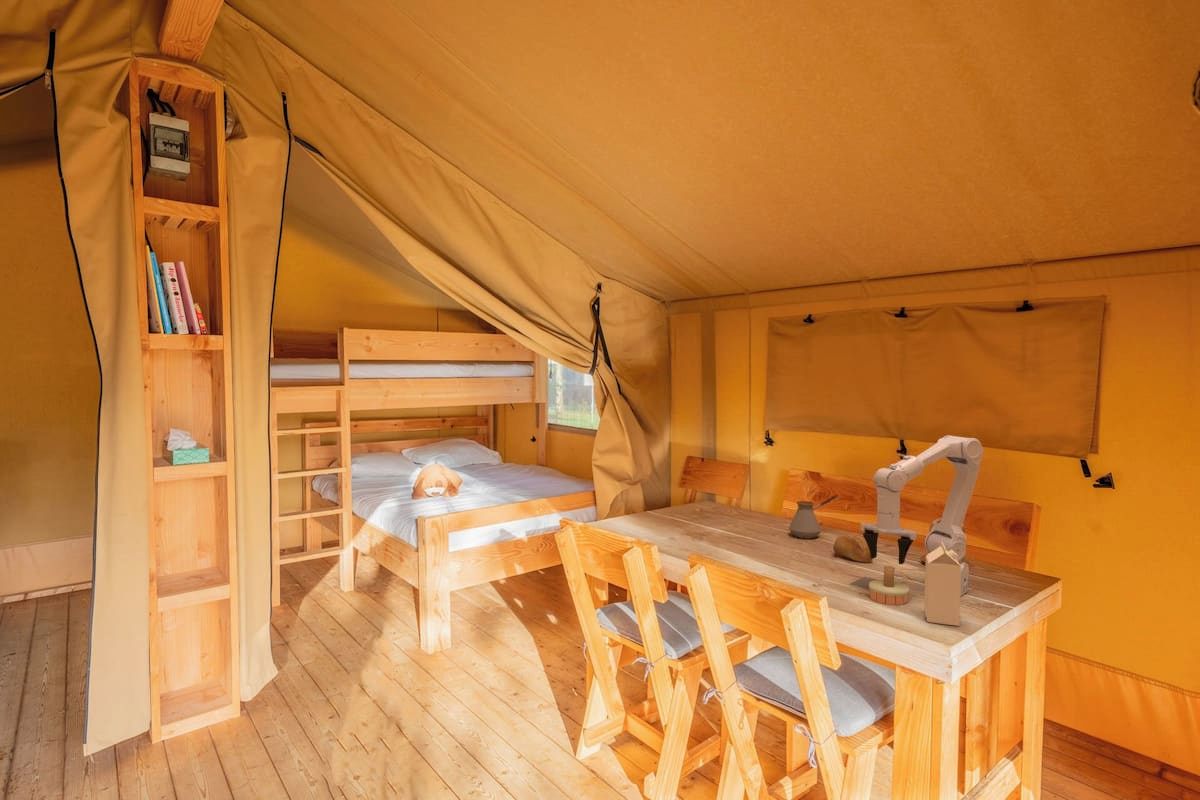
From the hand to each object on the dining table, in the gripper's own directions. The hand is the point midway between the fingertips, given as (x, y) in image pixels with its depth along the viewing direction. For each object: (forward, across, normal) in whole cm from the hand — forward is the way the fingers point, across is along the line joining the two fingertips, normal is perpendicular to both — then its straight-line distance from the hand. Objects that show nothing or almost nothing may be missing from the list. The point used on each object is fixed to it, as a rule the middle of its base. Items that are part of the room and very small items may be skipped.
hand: (887, 560), depth 182 cm
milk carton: (+10, +17, -8) cm, 21 cm away
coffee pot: (+10, -46, +48) cm, 67 cm away
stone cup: (+10, +2, +43) cm, 44 cm away
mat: (+10, -6, +5) cm, 13 cm away
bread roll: (+10, -23, +28) cm, 37 cm away
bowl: (+10, +2, -4) cm, 11 cm away
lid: (+7, +2, -4) cm, 8 cm away
